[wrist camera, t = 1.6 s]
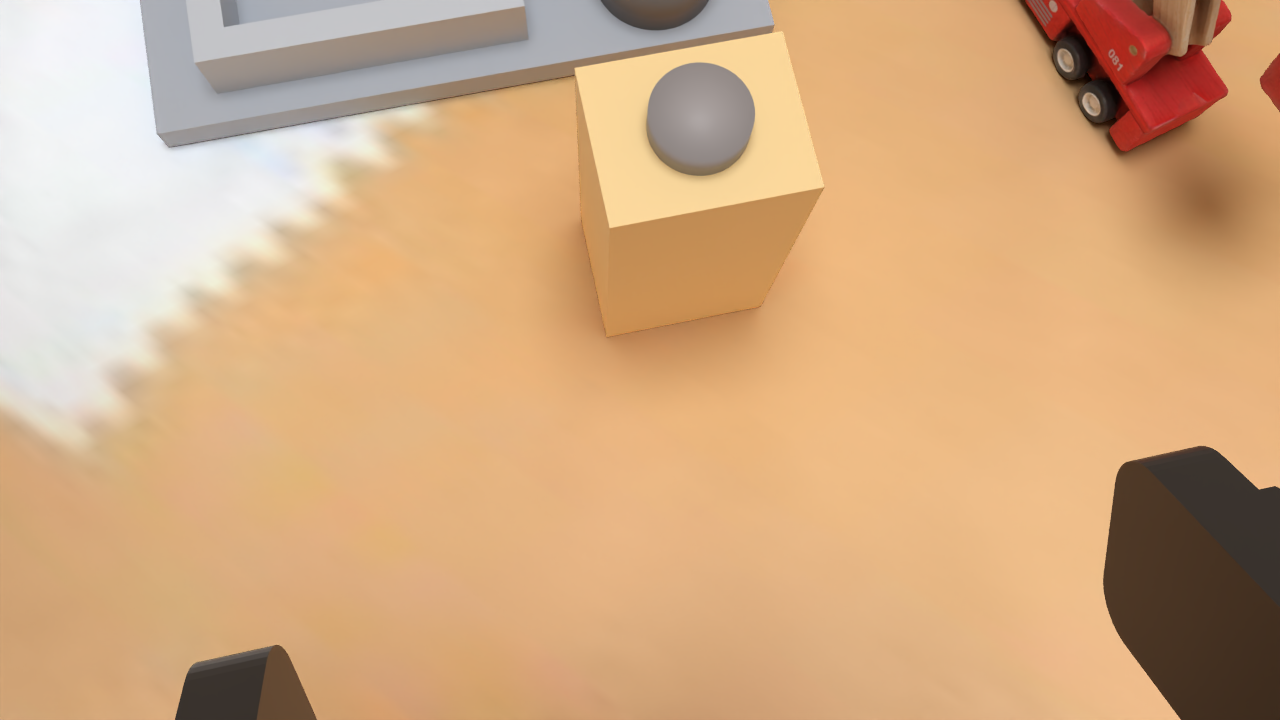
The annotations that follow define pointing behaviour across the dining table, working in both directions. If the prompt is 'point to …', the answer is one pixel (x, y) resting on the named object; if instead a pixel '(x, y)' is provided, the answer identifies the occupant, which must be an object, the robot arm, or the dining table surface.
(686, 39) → the grey insertion tray
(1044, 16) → the toy fire truck
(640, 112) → the tan knobbed block
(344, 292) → the dining table surface
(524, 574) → the dining table surface
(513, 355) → the dining table surface
